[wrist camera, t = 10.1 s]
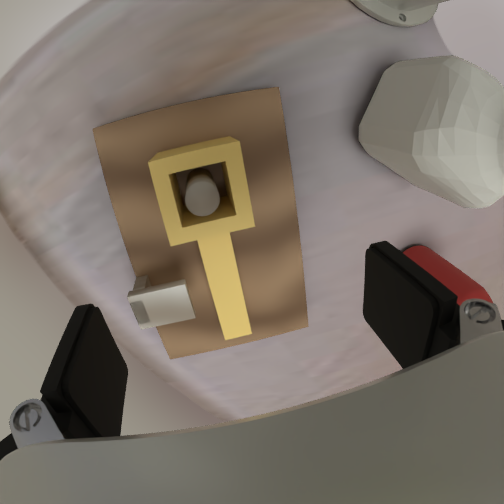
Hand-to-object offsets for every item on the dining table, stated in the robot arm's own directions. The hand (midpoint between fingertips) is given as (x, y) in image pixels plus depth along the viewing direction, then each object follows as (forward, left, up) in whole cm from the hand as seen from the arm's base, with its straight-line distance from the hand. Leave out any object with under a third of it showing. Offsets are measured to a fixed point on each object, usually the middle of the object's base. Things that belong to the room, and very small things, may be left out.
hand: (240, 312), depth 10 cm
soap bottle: (-4, +19, -17) cm, 25 cm away
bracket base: (+3, 0, -16) cm, 17 cm away
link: (+4, 0, -15) cm, 15 cm away
